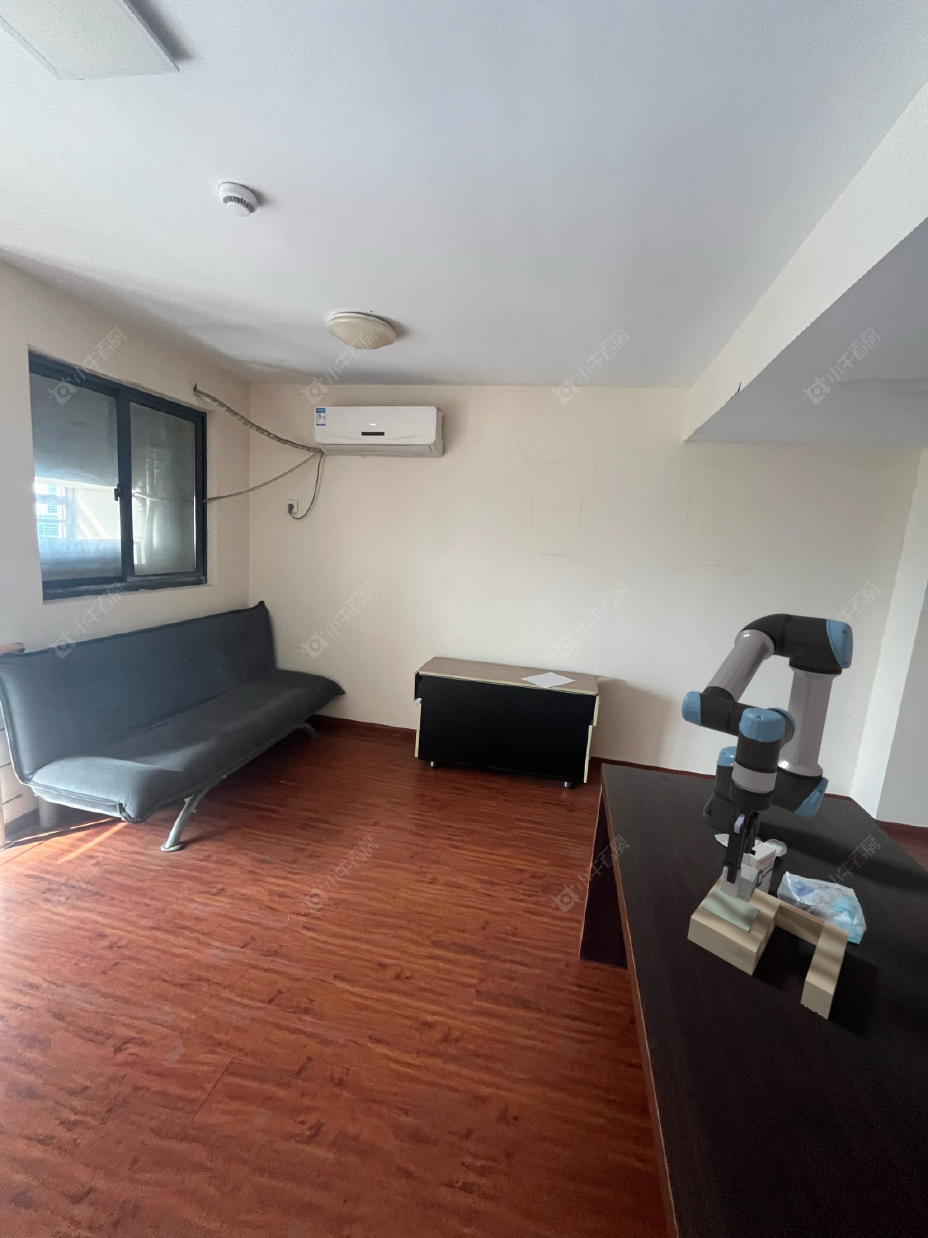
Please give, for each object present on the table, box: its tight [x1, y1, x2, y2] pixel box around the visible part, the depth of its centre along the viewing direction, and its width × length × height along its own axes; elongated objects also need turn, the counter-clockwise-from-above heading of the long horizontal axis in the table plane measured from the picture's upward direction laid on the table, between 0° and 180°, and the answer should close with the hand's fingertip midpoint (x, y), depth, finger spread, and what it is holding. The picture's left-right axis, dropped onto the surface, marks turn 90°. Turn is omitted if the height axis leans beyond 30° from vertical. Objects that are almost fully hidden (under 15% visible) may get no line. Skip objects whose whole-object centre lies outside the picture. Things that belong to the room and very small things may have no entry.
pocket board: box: [687, 874, 850, 1020], centre depth 103 cm, size 21×24×5 cm
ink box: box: [748, 839, 777, 894], centre depth 118 cm, size 8×5×12 cm, turn 123°
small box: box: [720, 863, 759, 902], centre depth 104 cm, size 6×6×5 cm
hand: (734, 887), depth 105 cm, fingers closed on small box, 6 cm apart
